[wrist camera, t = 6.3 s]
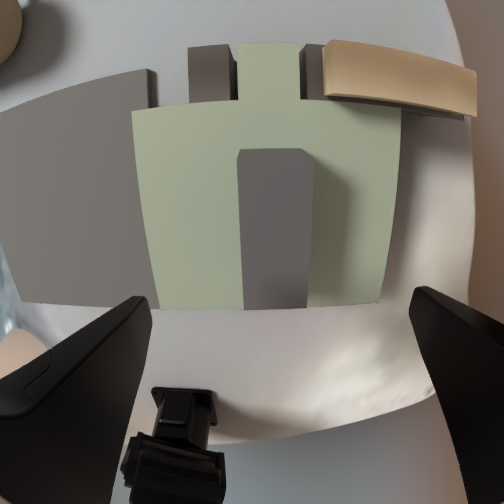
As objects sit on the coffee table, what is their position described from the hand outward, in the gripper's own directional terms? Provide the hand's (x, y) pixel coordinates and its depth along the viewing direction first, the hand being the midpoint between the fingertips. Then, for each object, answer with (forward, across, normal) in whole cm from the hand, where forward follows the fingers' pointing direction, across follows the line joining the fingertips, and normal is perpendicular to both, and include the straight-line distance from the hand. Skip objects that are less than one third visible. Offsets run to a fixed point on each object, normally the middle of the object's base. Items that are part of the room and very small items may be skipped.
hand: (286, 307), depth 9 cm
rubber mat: (+13, +16, 0) cm, 21 cm away
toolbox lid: (+9, 0, -2) cm, 9 cm away
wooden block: (+8, -7, -8) cm, 13 cm away
